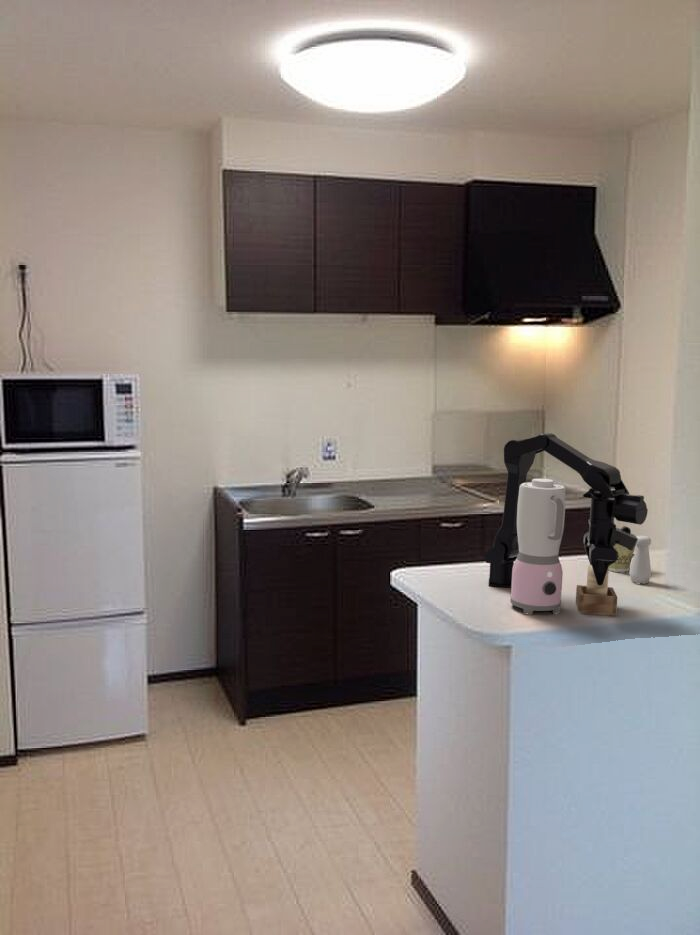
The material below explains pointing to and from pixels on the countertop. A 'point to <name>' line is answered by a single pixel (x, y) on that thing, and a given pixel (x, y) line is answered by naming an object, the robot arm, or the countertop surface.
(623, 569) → the ceramic cup
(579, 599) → the wooden square box
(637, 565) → the salt shaker
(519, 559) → the blender
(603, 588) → the beech peg
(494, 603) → the countertop surface
